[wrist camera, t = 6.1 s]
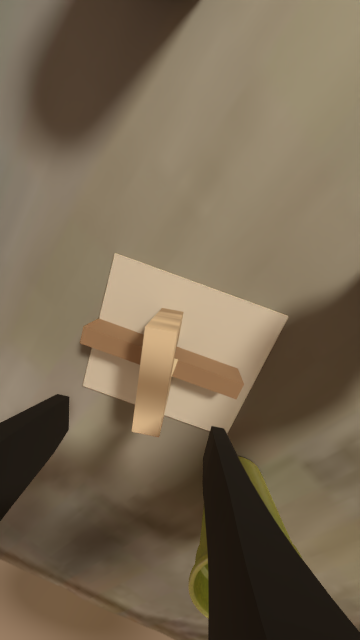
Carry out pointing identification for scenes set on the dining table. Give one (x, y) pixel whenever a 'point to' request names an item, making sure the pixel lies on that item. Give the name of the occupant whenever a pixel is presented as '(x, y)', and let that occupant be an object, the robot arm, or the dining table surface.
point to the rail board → (180, 342)
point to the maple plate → (156, 371)
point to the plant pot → (200, 569)
